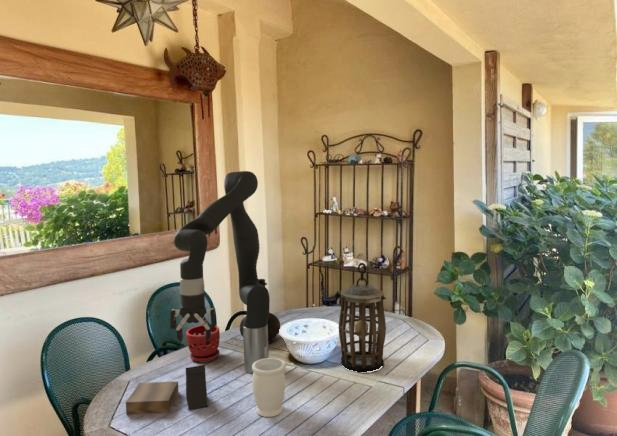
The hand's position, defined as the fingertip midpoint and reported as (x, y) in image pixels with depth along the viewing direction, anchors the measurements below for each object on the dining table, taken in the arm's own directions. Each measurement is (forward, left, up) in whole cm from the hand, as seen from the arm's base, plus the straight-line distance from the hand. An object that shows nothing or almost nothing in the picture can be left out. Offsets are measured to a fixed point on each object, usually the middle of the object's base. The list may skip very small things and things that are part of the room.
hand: (194, 340), depth 144 cm
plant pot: (+4, -36, -21) cm, 42 cm away
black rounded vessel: (-18, -53, -21) cm, 60 cm away
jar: (-24, +7, -21) cm, 33 cm away
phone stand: (0, 0, -21) cm, 21 cm away
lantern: (-59, -25, -21) cm, 67 cm away
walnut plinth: (+14, 0, -21) cm, 25 cm away
